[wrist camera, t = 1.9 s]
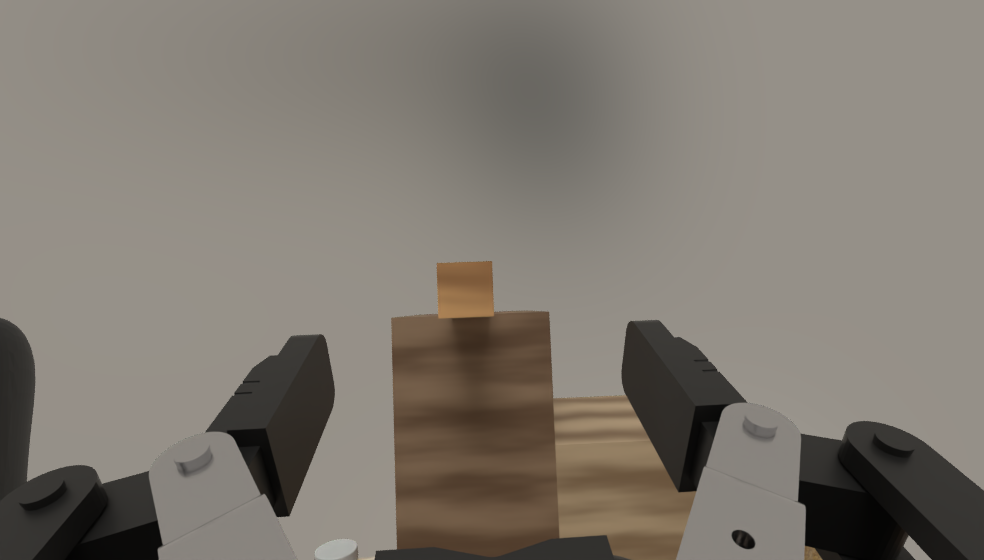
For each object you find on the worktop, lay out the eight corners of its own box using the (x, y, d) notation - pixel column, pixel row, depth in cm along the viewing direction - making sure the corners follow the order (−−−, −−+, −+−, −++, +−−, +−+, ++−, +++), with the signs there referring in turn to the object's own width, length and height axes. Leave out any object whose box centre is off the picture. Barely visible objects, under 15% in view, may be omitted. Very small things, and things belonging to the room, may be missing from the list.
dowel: (494, 316, 24) (492, 261, 25) (438, 318, 24) (436, 263, 25) (487, 312, 50) (486, 285, 51) (460, 313, 50) (459, 286, 50)
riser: (733, 745, 33) (703, 305, 35) (402, 767, 32) (391, 317, 34) (647, 596, 50) (630, 306, 52) (429, 609, 49) (421, 314, 51)
